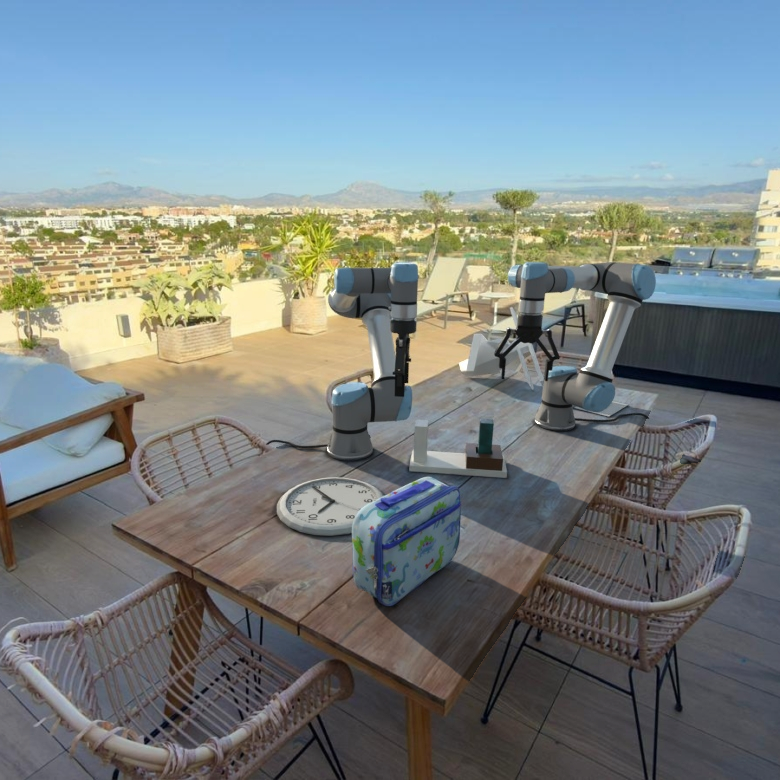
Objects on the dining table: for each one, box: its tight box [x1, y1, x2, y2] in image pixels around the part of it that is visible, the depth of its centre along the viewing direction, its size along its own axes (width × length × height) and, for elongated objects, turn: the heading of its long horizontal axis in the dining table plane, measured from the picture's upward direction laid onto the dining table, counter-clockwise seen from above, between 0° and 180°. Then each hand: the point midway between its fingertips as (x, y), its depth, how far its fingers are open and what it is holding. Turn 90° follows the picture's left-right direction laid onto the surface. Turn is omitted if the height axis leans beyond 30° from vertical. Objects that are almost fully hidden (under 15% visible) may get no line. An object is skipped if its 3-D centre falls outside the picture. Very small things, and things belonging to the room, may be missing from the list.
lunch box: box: [351, 476, 462, 607], centre depth 111 cm, size 26×11×21 cm, turn 135°
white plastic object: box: [458, 306, 544, 391], centre depth 259 cm, size 37×45×31 cm
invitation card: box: [573, 400, 629, 418], centre depth 226 cm, size 21×1×15 cm
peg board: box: [408, 419, 508, 479], centre depth 165 cm, size 30×12×14 cm, turn 83°
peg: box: [477, 418, 495, 454], centre depth 164 cm, size 4×4×14 cm
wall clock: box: [276, 476, 385, 537], centre depth 142 cm, size 30×2×30 cm
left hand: (401, 389), depth 156 cm, fingers open, 13 cm apart
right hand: (524, 379), depth 169 cm, fingers open, 13 cm apart
